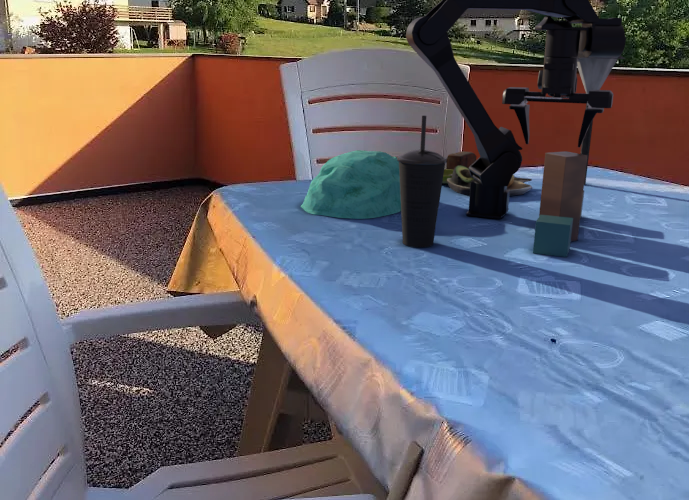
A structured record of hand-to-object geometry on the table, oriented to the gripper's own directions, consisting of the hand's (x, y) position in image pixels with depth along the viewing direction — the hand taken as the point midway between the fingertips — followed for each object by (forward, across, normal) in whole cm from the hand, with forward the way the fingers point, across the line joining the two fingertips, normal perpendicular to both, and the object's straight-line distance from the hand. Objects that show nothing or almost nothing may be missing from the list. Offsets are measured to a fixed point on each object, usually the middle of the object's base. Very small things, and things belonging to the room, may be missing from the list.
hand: (552, 145), depth 130 cm
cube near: (+13, -4, +25) cm, 29 cm away
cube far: (+13, -4, +1) cm, 14 cm away
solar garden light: (+13, -4, -36) cm, 38 cm away
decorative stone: (+13, +35, +6) cm, 38 cm away
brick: (+13, +25, -39) cm, 48 cm away
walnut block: (+13, -4, +17) cm, 22 cm away
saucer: (+13, +24, -23) cm, 36 cm away
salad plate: (+13, +15, -19) cm, 28 cm away
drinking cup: (+13, +16, +30) cm, 37 cm away
